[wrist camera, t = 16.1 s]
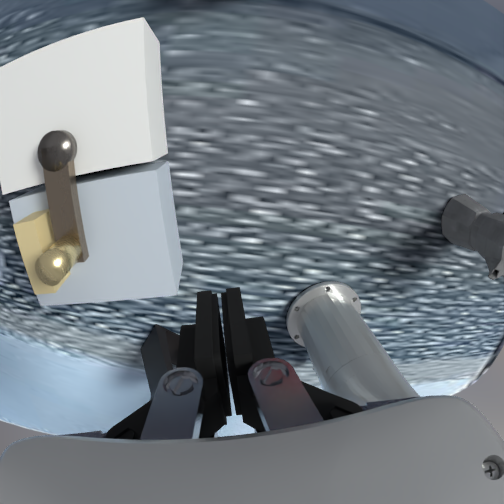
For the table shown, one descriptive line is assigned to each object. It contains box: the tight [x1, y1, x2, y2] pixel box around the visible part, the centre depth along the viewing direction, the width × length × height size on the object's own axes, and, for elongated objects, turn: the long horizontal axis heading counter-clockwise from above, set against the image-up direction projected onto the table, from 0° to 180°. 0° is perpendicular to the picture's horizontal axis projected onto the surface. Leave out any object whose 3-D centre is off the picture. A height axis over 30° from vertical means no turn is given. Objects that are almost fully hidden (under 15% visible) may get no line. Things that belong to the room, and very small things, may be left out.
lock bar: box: [35, 130, 89, 286], centre depth 24 cm, size 14×4×6 cm, turn 1°
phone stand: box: [141, 324, 180, 401], centre depth 42 cm, size 9×6×12 cm, turn 55°
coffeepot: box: [441, 194, 504, 280], centre depth 37 cm, size 15×9×18 cm, turn 127°
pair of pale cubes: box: [0, 17, 183, 306], centre depth 29 cm, size 30×19×14 cm, turn 4°
